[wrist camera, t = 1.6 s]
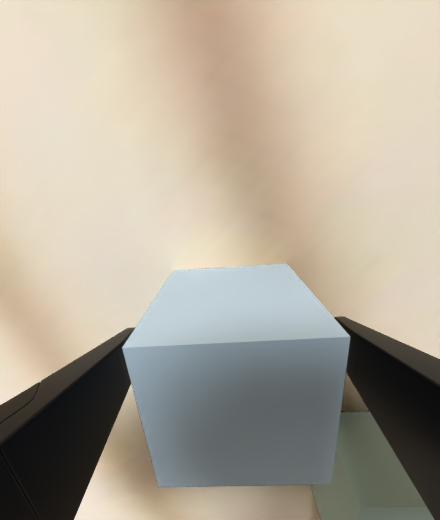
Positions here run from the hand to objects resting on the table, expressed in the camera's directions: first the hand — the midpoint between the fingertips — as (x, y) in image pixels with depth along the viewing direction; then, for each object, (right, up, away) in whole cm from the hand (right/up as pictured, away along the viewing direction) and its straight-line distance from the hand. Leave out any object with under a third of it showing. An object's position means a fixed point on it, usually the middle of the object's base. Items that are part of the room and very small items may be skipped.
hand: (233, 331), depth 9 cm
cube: (0, 0, +1) cm, 1 cm away
